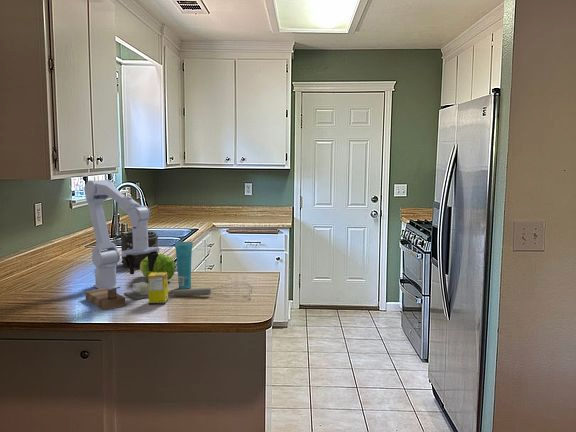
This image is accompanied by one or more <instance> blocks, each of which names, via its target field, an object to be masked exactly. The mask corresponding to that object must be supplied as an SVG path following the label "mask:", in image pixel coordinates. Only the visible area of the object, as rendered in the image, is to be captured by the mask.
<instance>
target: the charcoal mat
mask: <svg viewBox="0 0 576 432" xmlns="http://www.w3.org/2000/svg"><path fill="white" fill-rule="evenodd" d="M123 294H124V295H125V296H127V297H129V298H131V299H132V300H136V301H138V300H139V301H140V300H143V299H144V300H145V299H149V295H144V296H139V295H137V294H135V293H133V290H131V291H125V292H124V293H123Z"/></svg>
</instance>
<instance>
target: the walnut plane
mask: <svg viewBox="0 0 576 432" xmlns="http://www.w3.org/2000/svg"><path fill="white" fill-rule="evenodd" d="M84 294H85V300H87V301H88V302H90V303H91V304H93V305H95V306H96V307H98V308H100V309H101V310H105V311H106V310H111V309H116V308H122V307H125V306H126V305H127V304H126V297H125V296H123V295H121V294H119V293H117V288H113V289H107V288H103V289H98V288H96V289H93V290H86V291H85V293H84Z"/></svg>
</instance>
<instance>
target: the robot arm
mask: <svg viewBox="0 0 576 432" xmlns="http://www.w3.org/2000/svg"><path fill="white" fill-rule="evenodd" d="M83 189H84V196H85V199H86V202H87V206H88V212H89V215H90V220H91V224H92V228H93V234H94V238H95V242H96V244H95V245H94V246H93V248H92V249H91V254H92V255H91V259H92V263H93V265H94V266H95V270H94V280H95V281H94V282H95V284H93V287H94V288H96V289H103V288H107V289H109V290H110V289H119V288H121V285H119V284H118V283H117V266H118V263H119V262H120V260H121V257H122V256H123V257H124V259H125V261H126V263H127V265H128V267H129V268H128V271H129V274H130V275H135V268H134V260H135V258H134V257H133V256H132V255H138V254H146V253H147V257H148V269H149V271H151V272H152V271H153V267H154V263H155V261H156V259H157V257H158V254H159V253H160V247H159V246H158V247H148V232H149V226H148V225H149V224H148V223H149V220H150V218H151V215H152V214H151V210H150V208H149V207H148V206H147V205H141V204H140V203H139V202H137V200H134V199H133V197H132V196H130V195H129V196H128V195H126V196H125V195H124V194H123V193H122V192H120V190H119V189H118V188H117V187H115V183H114V182H112V181H111V179H105V180H104V179H103V180H102V179H101V180H88V181H86V183H85V185H84V188H83ZM108 198H110V199H112V200H113V201H115V202H116V203H118V207H119V209H121V210H122V211H123V213H125V214H126V215H128V219H129V221H130V226H131V229H132V230H131V232H133V249H130V250H125V251H122V250H121V252H119V250H118V247H117V245H116V244H115V243H113V242H112V241H111V239H110V234H109V231H108V230H109V229H108V225H107V220H106V215H105V211H104V207H103V204H104V202H105V201H107V199H108ZM157 252H158V253H157ZM120 253H121V254H120Z"/></svg>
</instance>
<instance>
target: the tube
mask: <svg viewBox="0 0 576 432" xmlns="http://www.w3.org/2000/svg"><path fill="white" fill-rule="evenodd" d="M193 243H194V242H193V241H177V240H176V241H175V240H174V246H175V248H174V249H175V254H176V255H175V257H176V264H177V265H176V268H177V279H178V280H177V281H178V282H177V283H178V289H179V290H184V289H192V288H191V287H192V257H193V256H192V252H193Z"/></svg>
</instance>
